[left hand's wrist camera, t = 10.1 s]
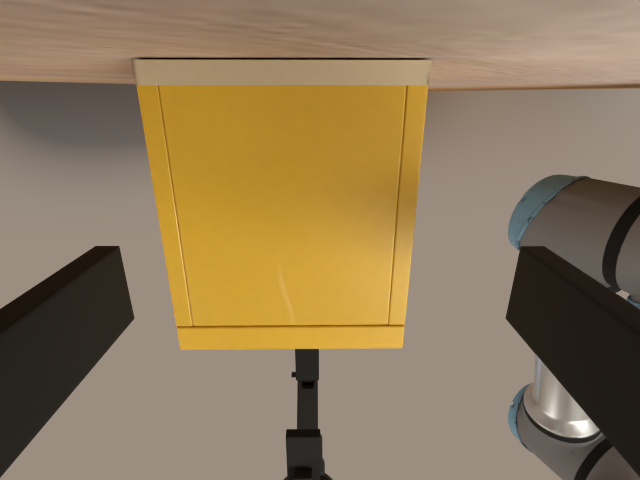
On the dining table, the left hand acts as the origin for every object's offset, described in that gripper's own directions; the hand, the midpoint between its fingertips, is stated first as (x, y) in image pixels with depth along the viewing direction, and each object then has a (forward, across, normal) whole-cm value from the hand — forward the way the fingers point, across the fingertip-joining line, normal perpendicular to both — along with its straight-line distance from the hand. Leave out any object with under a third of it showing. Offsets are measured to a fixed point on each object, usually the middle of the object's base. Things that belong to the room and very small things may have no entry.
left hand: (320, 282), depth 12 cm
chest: (+11, +1, -7) cm, 13 cm away
